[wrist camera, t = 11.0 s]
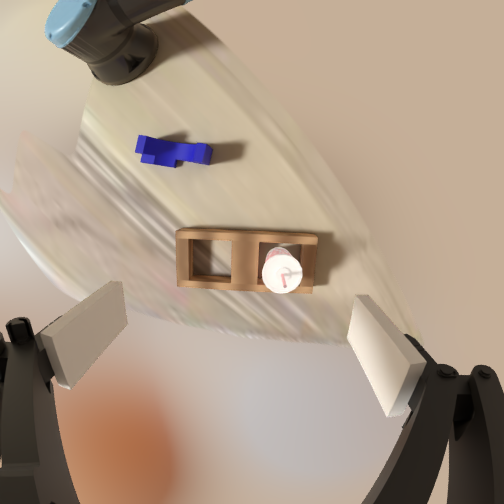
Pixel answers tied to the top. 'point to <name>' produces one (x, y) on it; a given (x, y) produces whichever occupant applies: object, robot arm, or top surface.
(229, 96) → the top surface
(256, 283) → the wooden holder tray
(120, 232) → the top surface
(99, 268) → the top surface
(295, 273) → the beverage cup
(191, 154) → the blue notched block
